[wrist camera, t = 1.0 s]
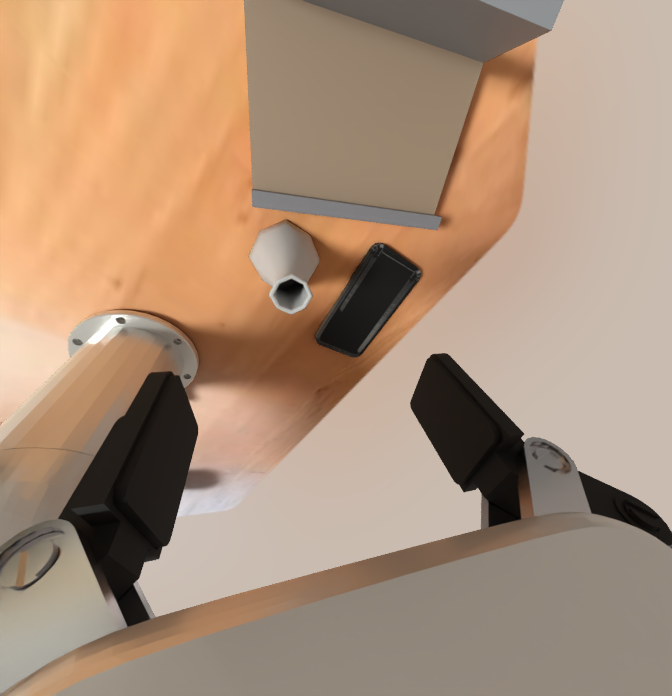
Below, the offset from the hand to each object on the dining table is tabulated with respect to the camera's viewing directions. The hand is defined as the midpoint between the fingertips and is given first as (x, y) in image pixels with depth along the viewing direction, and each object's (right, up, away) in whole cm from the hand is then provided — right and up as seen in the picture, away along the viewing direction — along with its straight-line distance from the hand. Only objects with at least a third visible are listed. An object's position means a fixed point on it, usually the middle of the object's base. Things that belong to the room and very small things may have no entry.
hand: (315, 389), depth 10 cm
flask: (-5, +12, +18) cm, 22 cm away
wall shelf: (+3, +21, +13) cm, 24 cm away
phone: (+4, +8, +24) cm, 25 cm away
